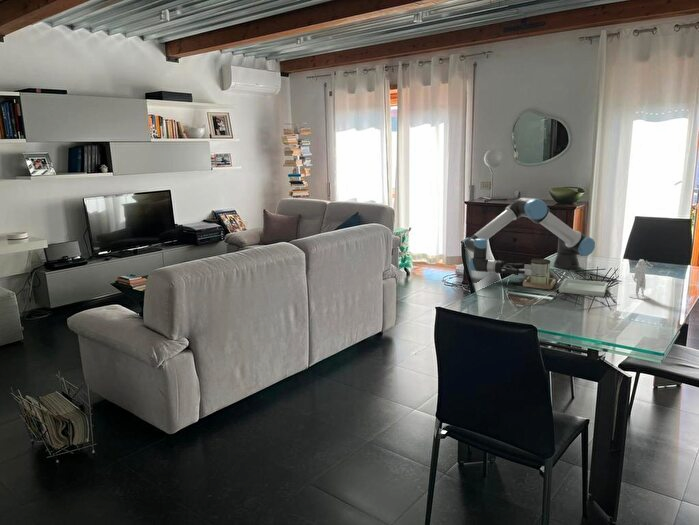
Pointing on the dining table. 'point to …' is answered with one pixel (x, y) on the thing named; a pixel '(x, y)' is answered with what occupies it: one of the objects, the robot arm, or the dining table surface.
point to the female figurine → (640, 279)
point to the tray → (583, 287)
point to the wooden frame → (539, 284)
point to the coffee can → (540, 271)
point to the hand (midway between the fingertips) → (533, 270)
